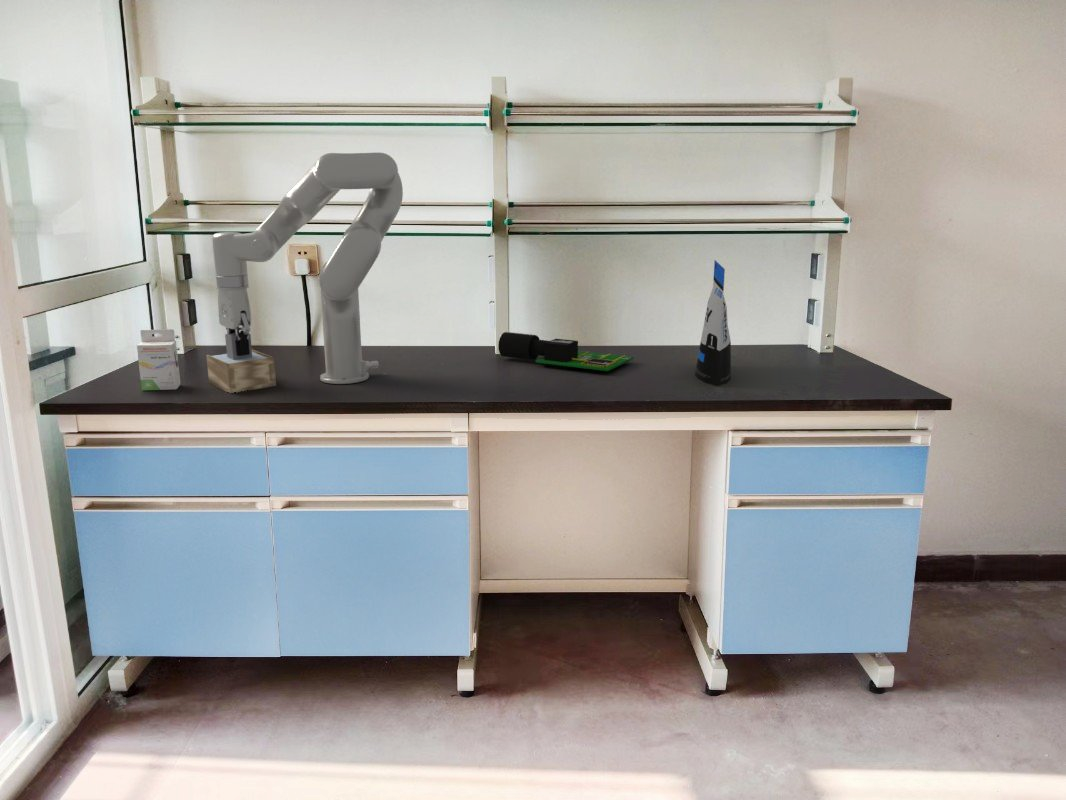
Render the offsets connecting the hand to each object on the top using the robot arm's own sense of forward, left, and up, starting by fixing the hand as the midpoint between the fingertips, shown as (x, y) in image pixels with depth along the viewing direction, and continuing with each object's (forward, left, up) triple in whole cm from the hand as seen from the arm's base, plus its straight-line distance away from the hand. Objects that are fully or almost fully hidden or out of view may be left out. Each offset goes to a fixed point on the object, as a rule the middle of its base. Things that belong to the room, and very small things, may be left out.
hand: (239, 352), depth 212 cm
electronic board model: (-81, +36, -8) cm, 89 cm away
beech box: (0, 0, -8) cm, 8 cm away
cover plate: (0, 0, -2) cm, 2 cm away
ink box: (+17, -10, -8) cm, 21 cm away
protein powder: (-100, +74, -8) cm, 125 cm away
